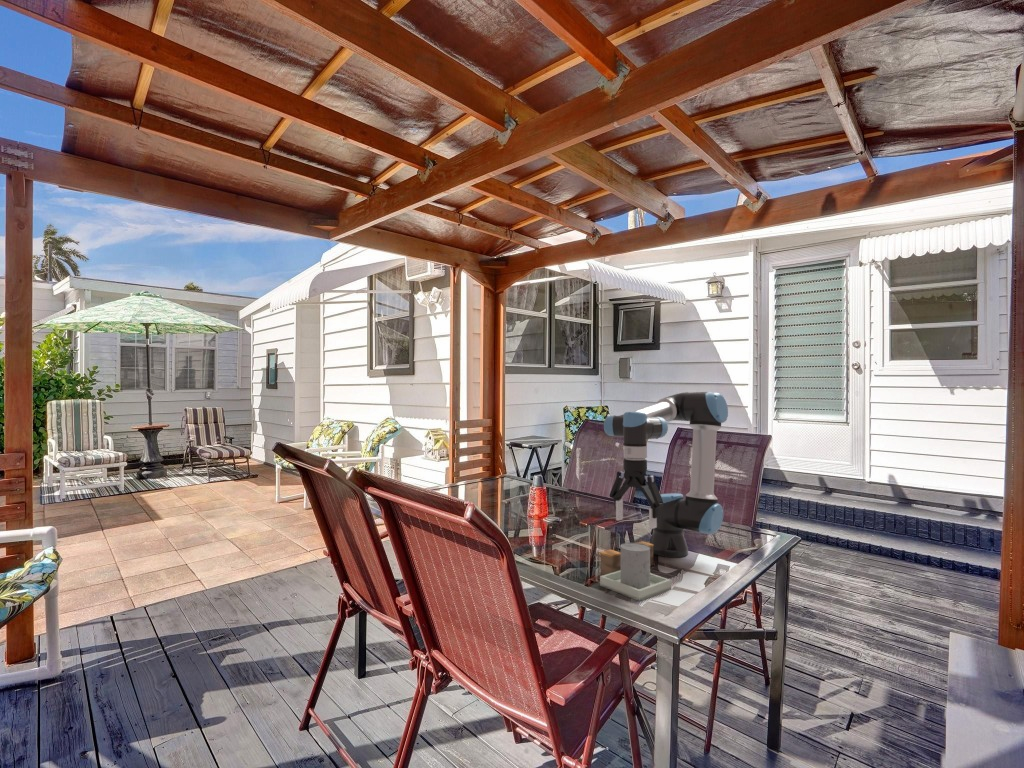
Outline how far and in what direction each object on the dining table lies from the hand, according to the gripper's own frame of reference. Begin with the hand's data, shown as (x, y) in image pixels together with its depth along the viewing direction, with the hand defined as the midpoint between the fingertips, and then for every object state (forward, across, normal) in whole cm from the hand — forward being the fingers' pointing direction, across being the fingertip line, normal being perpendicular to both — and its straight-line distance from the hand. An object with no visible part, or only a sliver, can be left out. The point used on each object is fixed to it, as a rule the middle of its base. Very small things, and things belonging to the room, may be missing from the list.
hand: (635, 523), depth 163 cm
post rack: (+21, -13, +12) cm, 27 cm away
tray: (+20, 0, 0) cm, 21 cm away
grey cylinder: (+20, 0, 0) cm, 20 cm away
